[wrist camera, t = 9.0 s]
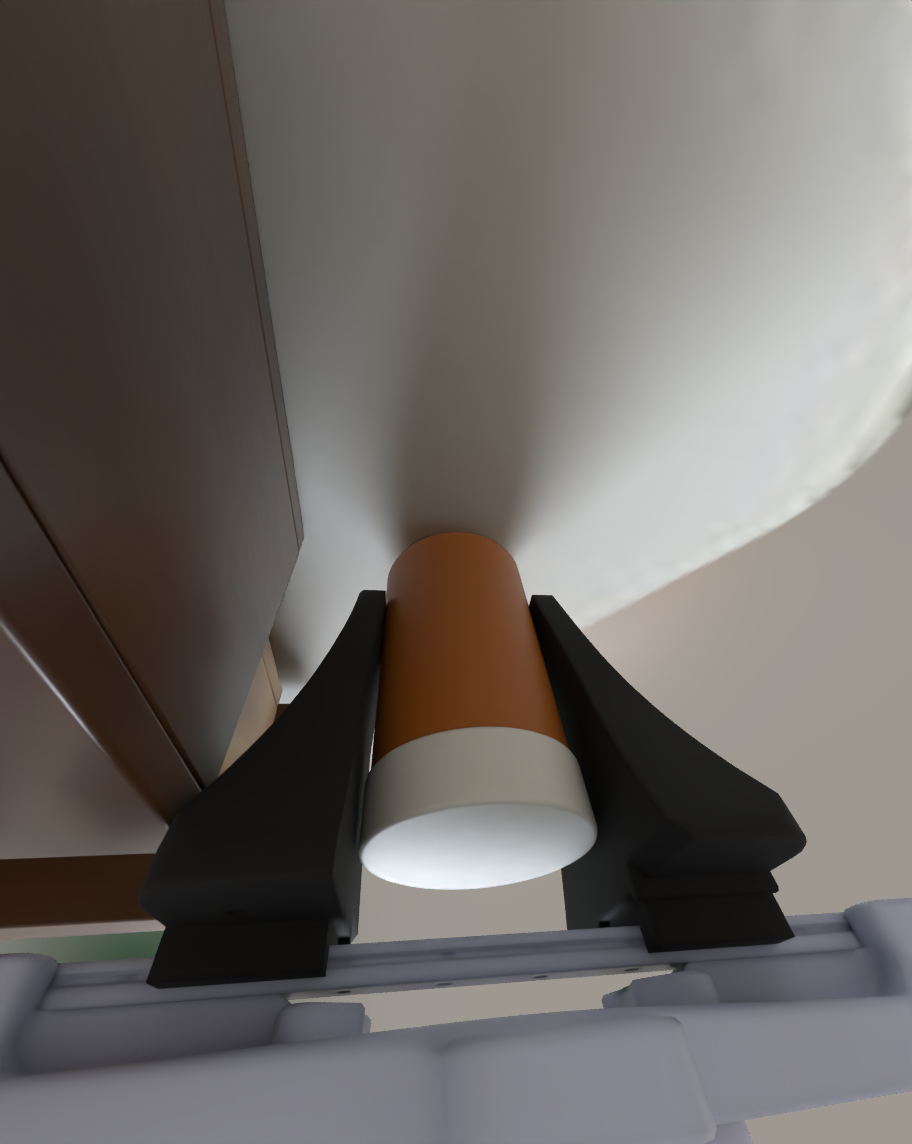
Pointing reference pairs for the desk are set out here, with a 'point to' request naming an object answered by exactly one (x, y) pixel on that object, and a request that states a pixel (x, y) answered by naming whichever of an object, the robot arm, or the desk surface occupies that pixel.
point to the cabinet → (129, 422)
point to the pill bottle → (467, 730)
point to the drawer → (112, 857)
